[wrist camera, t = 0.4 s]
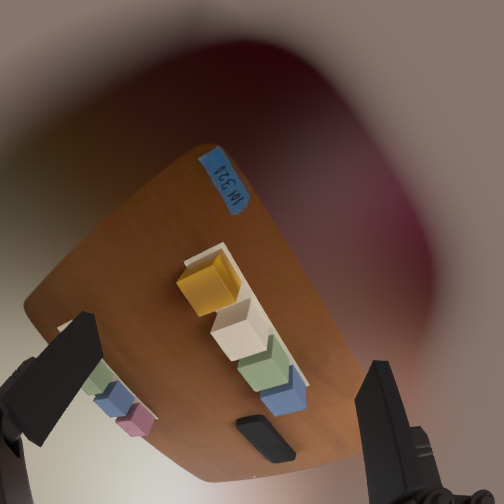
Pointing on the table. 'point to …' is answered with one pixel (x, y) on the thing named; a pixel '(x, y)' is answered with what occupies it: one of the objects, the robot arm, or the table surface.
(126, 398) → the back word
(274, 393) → the white strip with cubes
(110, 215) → the table surface
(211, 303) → the block
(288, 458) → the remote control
